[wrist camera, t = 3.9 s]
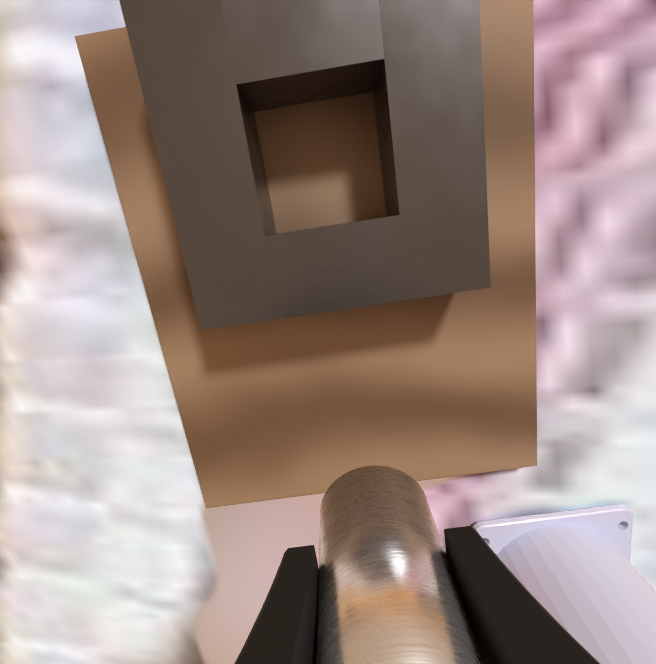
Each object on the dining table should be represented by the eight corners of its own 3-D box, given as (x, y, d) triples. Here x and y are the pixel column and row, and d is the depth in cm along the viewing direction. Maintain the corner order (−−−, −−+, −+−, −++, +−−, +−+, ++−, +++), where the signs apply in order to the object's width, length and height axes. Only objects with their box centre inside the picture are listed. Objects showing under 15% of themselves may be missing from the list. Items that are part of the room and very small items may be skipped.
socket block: (461, 275, 16) (490, 287, 13) (223, 311, 16) (201, 330, 14) (444, -14, 13) (476, -79, 10) (160, 37, 14) (116, -11, 11)
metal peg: (435, 551, 11) (606, 1072, 4) (326, 564, 11) (321, 1089, 4) (426, 454, 10) (619, 912, 4) (308, 470, 11) (269, 940, 4)
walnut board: (526, 453, 19) (536, 465, 18) (212, 494, 20) (206, 507, 19) (518, -29, 14) (532, -48, 13) (91, 48, 15) (74, 36, 14)
